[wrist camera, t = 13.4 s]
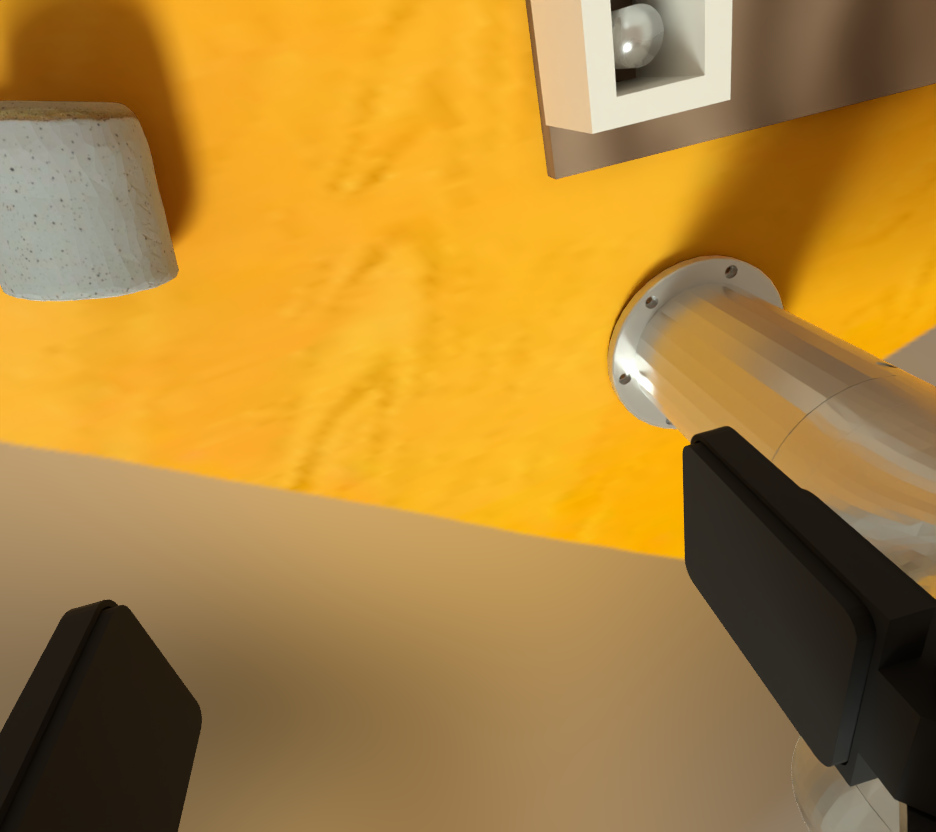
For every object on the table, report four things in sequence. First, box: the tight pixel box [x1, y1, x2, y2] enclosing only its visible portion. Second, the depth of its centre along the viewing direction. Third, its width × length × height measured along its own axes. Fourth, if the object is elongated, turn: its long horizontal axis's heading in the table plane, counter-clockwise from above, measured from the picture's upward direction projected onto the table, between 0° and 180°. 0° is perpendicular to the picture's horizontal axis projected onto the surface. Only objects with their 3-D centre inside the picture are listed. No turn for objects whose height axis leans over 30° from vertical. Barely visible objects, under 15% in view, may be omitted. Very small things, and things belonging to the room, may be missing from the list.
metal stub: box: [611, 4, 664, 69], centre depth 28 cm, size 2×2×5 cm
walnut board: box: [526, 0, 936, 179], centre depth 32 cm, size 26×12×2 cm, turn 102°
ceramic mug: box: [0, 101, 179, 301], centre depth 27 cm, size 11×8×8 cm
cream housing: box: [531, 0, 732, 134], centre depth 27 cm, size 6×6×7 cm
